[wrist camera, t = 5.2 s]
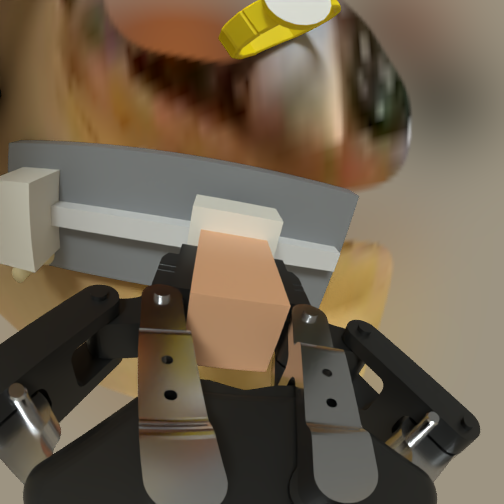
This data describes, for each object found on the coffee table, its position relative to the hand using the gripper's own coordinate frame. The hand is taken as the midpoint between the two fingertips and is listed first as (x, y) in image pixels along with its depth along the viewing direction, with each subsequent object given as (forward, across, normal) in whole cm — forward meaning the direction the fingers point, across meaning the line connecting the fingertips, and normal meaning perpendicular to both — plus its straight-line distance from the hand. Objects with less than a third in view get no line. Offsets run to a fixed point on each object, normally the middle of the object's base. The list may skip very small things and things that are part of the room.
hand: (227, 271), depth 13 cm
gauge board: (+5, +4, 0) cm, 7 cm away
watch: (+6, 0, -12) cm, 13 cm away
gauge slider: (+3, 0, 0) cm, 3 cm away
